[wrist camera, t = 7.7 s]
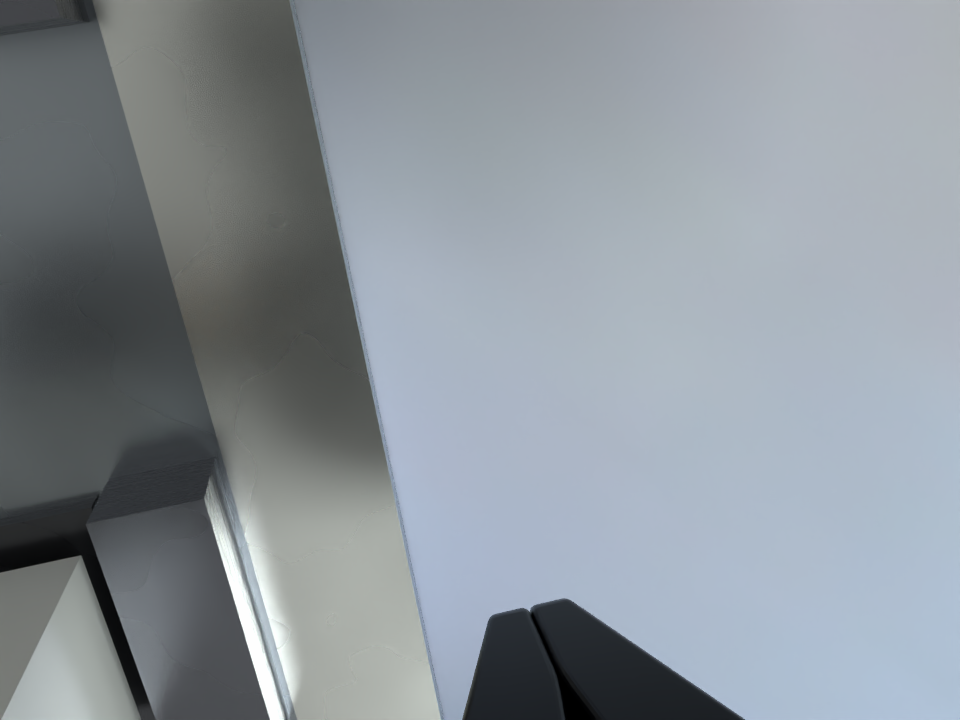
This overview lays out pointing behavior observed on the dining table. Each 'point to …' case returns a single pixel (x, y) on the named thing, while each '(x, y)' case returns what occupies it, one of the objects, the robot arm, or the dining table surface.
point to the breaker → (58, 648)
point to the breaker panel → (196, 365)
